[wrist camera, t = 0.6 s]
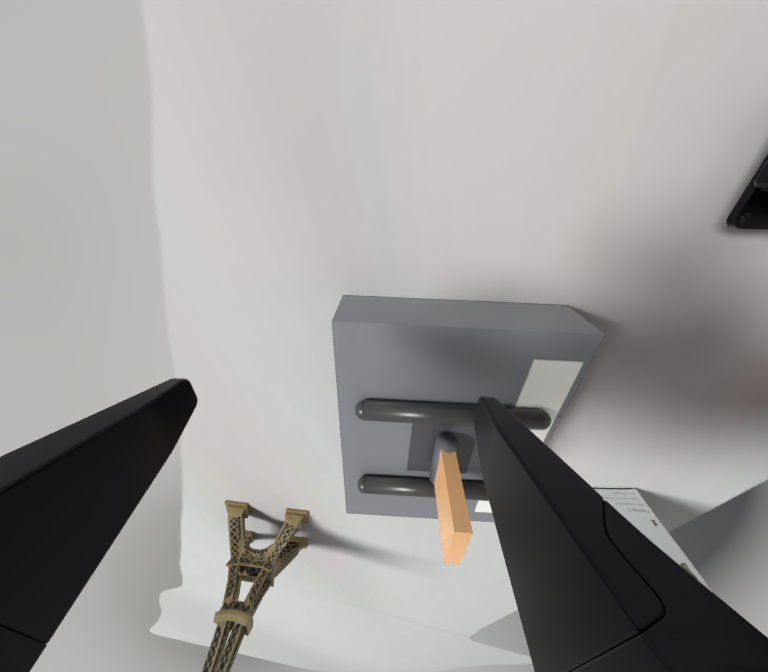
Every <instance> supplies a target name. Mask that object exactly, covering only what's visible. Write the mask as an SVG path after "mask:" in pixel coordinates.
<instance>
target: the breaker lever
mask: <svg viewBox="0 0 768 672" xmlns="http://www.w3.org/2000/svg"><path fill="white" fill-rule="evenodd" d="M458 446H459V442H458V439H457V438H456V437H455V436H454V435H453V434H451V433H447V432H443V433H440V434H439V435H438V436H437V438H436V443H435V448H434V453H433V458H432V463H431V468H430V473H429V478H430V481H431V482H432V483H433V484H434V486H435V495H436V503H437V512H438V520H439V528H440V537H441V545H442V553H443V562H444V563H450V564H460V563H461V560H462V558H463V555H464V553H465V551H466V548H467V546H468V543H469V541H470V539H471V536H472V534H473V532H472V527H471V522H470V518H469V513H468V508H467V503H466V499H465V494H464V489H463V484H462V480H461V475H460V470H459V465H458V461H457V456H456V453H457V450H458Z"/></svg>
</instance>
